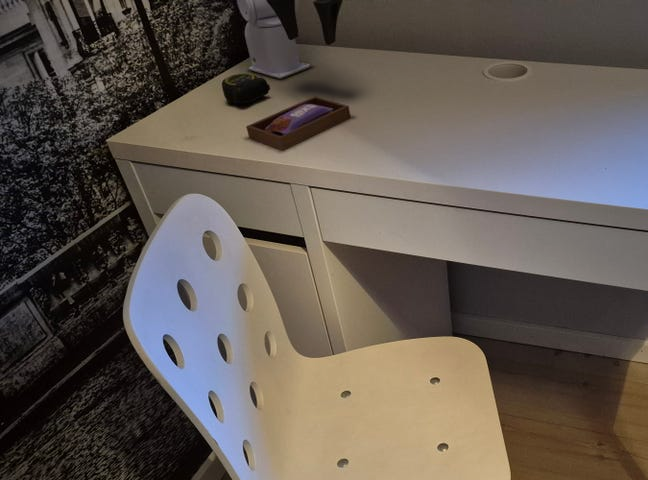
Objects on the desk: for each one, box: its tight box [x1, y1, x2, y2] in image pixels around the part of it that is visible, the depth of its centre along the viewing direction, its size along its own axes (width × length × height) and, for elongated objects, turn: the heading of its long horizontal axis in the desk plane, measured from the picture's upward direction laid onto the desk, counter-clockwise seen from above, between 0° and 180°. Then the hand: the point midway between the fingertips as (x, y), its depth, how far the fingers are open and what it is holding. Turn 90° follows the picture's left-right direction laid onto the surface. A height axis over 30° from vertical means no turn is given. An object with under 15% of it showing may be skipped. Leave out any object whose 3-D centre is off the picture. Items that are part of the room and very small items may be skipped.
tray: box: [245, 95, 351, 151], centre depth 111 cm, size 15×8×2 cm, turn 144°
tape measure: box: [221, 73, 271, 104], centre depth 120 cm, size 7×7×4 cm
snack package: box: [265, 104, 333, 134], centre depth 111 cm, size 12×2×5 cm
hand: (312, 40), depth 116 cm, fingers open, 7 cm apart
